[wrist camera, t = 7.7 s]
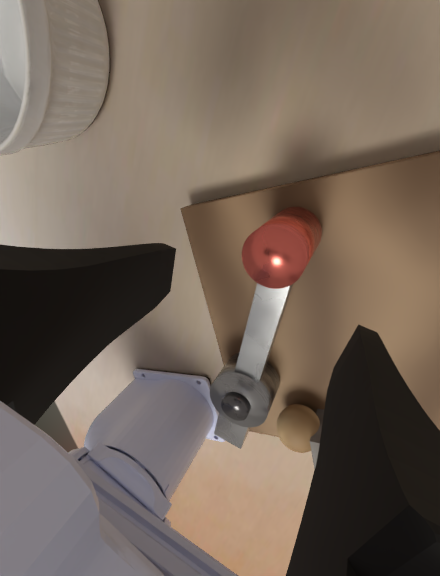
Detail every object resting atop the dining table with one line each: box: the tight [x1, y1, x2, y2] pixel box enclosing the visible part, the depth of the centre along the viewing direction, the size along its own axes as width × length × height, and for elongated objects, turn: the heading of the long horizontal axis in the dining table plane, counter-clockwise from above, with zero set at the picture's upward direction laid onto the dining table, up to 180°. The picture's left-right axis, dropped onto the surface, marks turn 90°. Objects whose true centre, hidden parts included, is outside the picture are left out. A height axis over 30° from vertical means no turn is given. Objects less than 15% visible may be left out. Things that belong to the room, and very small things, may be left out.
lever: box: [210, 207, 322, 449], centre depth 20 cm, size 18×4×5 cm, turn 170°
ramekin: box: [0, 0, 109, 155], centre depth 19 cm, size 13×13×7 cm
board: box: [181, 151, 440, 468], centre depth 20 cm, size 15×20×5 cm
